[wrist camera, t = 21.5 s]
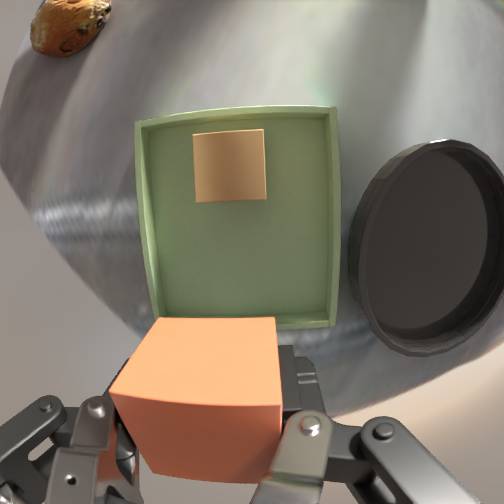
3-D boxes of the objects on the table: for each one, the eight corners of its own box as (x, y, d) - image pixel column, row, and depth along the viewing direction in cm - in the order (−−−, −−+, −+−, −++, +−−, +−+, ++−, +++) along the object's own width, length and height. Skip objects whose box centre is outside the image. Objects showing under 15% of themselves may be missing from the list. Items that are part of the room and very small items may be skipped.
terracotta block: (274, 316, 10) (282, 403, 5) (275, 401, 11) (278, 483, 7) (158, 316, 10) (107, 390, 6) (178, 398, 11) (152, 473, 7)
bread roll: (107, 1, 19) (68, -25, 11) (136, -1, 16) (87, -39, 8) (58, 60, 21) (15, 39, 13) (72, 73, 18) (14, 45, 10)
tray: (329, 113, 19) (336, 106, 17) (329, 314, 24) (335, 326, 21) (145, 126, 20) (133, 121, 18) (164, 317, 24) (156, 329, 22)
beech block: (263, 140, 20) (263, 129, 15) (265, 196, 21) (266, 199, 17) (206, 143, 20) (192, 134, 16) (208, 199, 21) (195, 203, 17)
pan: (502, 158, 19) (519, 158, 16) (482, 326, 24) (495, 336, 21) (345, 131, 20) (357, 125, 17) (338, 353, 25) (346, 371, 22)
